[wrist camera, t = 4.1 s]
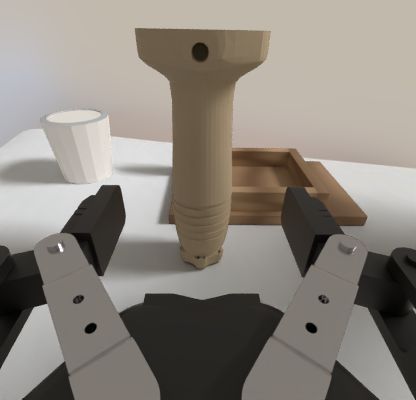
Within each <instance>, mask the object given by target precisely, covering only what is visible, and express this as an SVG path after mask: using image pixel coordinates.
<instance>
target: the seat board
mask: <svg viewBox="0 0 416 400" xmlns="http://www.w3.org/2000/svg"><path fill="white" fill-rule="evenodd" d="M287 187H304V188H305V189H306V190H307V192H308V194H309V195H310V197H315V198H317V199H318V200H320V201H321V202H322V203H324V205H325V206H326V208H327V209H328V211H329V212H330V214H331V215H332V217H333V218H334V220H335V221H336V222H337V224H338V225H364V224H365V222H366V220H367V215H366V214H365V213H364V212H363V211H362V210H361V209H360V207H359V206H358V205H357V204H356V203H355V202H354V201H353V199H352V198H351V197H350V196H349V195H348V194H347V193H346V191H345V190H344V189H343V188H342V187H341V186H340V184H339V183H338V182H337V181H336V180H335V179H334V178H333V176H332V175H331V174H330V173H329V172H328V171H327V170H326V168H325V167H324V166H323V165H322V164H321V163H320V162H314V161H304V159H303V158H302V157H301V155H300V154H299V153H298V152H297V150H296V149H278V148H277V149H276V148H232V197H231V210H230V218H229V224H255V225H282V224H281V212H282V207H283V202H284V197H285V192H286V189H287ZM169 222H170V224H175V218H174V210H173V197H172V202H171V207H170V212H169Z"/></svg>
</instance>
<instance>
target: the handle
mask: <svg viewBox="0 0 416 400" xmlns="http://www.w3.org/2000/svg"><path fill="white" fill-rule="evenodd" d="M135 34H136V42H137V50H138V55H139V58H140V59H141V60H142V61H143V62H145V63H146V64H147V65H148V66H150V67H152V68H153V69H155V70H157V71H158V72H160V73H161V74H163V75H164V76H165V77H166V78H167V79H168V80H169V81H170V89H171V95H172V121H173V169H172V193H173V195H172V196H173V210H174V218H175V224H176V230H177V234H178V238H179V241H180V244H181V245H182V246H181V247H180V252H181V256H182V258H183V260H184V261H185V262H189V263H192V264H194V265H195V266H196V267H197V268H205V267H206V266H208V265H210V264H212V263H218V262H219V261H220V259H221V257H222V253H223V249H222V245H223V243H224V240H225V237H226V233H227V229H228V224H229V218H230V210H231V197H232V115H233V112H232V111H233V97H234V90H235V83H236V82H237V80H238V79H239V78H240V77H241V76H243V75H245V74H246V73H248V72H250V71H251V70H253V69H255V68H257V67H258V66H259V65H261V64H262V63H263V62H264V61H265V60H266V58H267V54H268V47H269V40H270V31H248V30H199V29H196V30H195V29H146V28H135Z"/></svg>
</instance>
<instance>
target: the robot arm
mask: <svg viewBox="0 0 416 400" xmlns="http://www.w3.org/2000/svg"><path fill="white" fill-rule="evenodd" d="M125 218H126V214H125V208H124V203H123V197H122V192H121V188H120V186H119V185H102V186H101V188H100V189H99V191H98V192H97V194H96V195H91V196H89V197H88V198H86V199H85V200H83V201H82V202H81V204H80V205H79V207H78V209H77V210H76V211H75V212H74V214H73V215H72V217H71V218H70V219H69V221H68V222H67V224H66V225H65V226H64V228H63V229H62V231H61V232H60V233H59V234H54V235H51V236H49V237H46V238H45V239H43V240H41V241H40V242H39V243H38V244H37V245H36V247H35V249H34V250H32V251H28V252H23V253H18V254H13V255H11V253H10V251H9V249H8V248H7V247H5V246H1V245H0V368H1V367H2V365H3V363H4V361H5V359H6V357H7V356H8V354H9V352H10V350H11V348H12V346H13V345H14V343H15V341H16V339H17V337H18V335H19V334H20V332H21V330H22V328H23V326H24V324H25V323H26V321H27V319H28V317H29V315H30V313H31V312H32V310H33V308H34V307H37V306H40V305H44V304H48V307H49V310H50V313H51V317H52V320H53V323H54V327H55V330H56V333H57V336H58V340H59V343H60V346H61V350H62V353H63V356H64V359H65V361H64V362H63V363H62V364H61V365H60V366H59V367H58V368H56V369H55V370H54V371H53V372H52V373H51V374H50V375H49V376H48V377H46V378H45V379H44V380H43V381H42V382H41V383H40V384H39V385H38V386H36V387H35V388H34V389H33V390H32V391H31V392H30V393H29V394H28V395H26V396H25V397H24V398H23V399H22V400H379V399H378V398H377V397H376V396H375V395H374V394H373V393H371V392H370V391H369V390H368V389H367V388H366V387H365V386H364V385H363V384H362V383H361V382H360V381H358V380H357V379H356V378H355V377H354V376H353V375H352V374H351V373H350V372H349V371H348V370H347V369H345V368H344V367H343V366H342V365H341V364H340V363H339V362H338V361H337V360H336V357H337V354H338V351H339V348H340V345H341V342H342V338H343V335H344V332H345V329H346V326H347V323H348V320H349V316H350V313H351V310H352V307H353V304H356V305H360V306H364V307H367V308H368V310H369V311H370V313H371V315H372V317H373V319H374V321H375V323H376V325H377V327H378V329H379V331H380V333H381V335H382V337H383V339H384V340H385V342H386V344H387V346H388V348H389V350H390V352H391V354H392V356H393V358H394V360H395V362H396V364H397V366H398V367H399V369H400V371H401V373H402V375H403V377H404V379H405V381H406V383H407V385H408V387H409V389H410V391H411V393H412V395H413V396H414V398H415V400H416V314H415V312H414V311H413V309H412V308H413V307H414V308H415V309H416V250H414V249H410V248H396V249H394V250H393V251H392V253H391V255H390V256H386V255H381V254H377V253H372V252H368V251H367V248H366V247H365V245H364V244H363V243H362V242H360V241H359V240H357V239H356V238H353V237H351V236H348V235H345V234H344V233H343V231H342V230H341V228H340V227H339V225H338V224H337V222H336V221H335V220H334V218H333V217H332V215H331V214H330V212H329V211H328V209H327V208H326V206H325V205H324V203H322V202H321V201H320V200H318V199H317V198H315V197H310V195H309V194H308V192H307V190H306V189H305V188H304V187H287V189H286V192H285V197H284V202H283V207H282V212H281V224H282V227H283V230H284V232H285V235H286V237H287V240H288V242H289V245H290V248H291V250H292V253H293V255H294V258H295V260H296V263H297V265H298V268H299V270H300V273H301V275H302V277H305V278H304V279H303V281H302V283H301V285H300V287H299V288H298V290H297V292H296V294H295V296H294V297H293V299H292V301H291V303H290V305H289V306H288V308H287V310H286V312H285V313H283V312H282V311H280V310H278V309H276V308H274V307H272V306H269V305H267V304H263V303H260V298H259V294H227V295H223V296H219V297H214V298H210V299H206V300H199V299H194V298H190V297H186V296H181V295H177V294H145V298H144V303H141V304H137V305H134V306H132V307H130V308H127V309H125V310H124V311H122V312H120V313H119V314H118V312H117V310H116V308H115V306H114V305H113V303H112V301H111V299H110V297H109V295H108V294H107V292H106V290H105V288H104V286H103V284H102V282H101V281H100V279H99V277H98V276H103V275H104V273H105V271H106V268H107V266H108V263H109V261H110V258H111V256H112V254H113V251H114V249H115V246H116V244H117V241H118V239H119V236H120V234H121V232H122V229H123V227H124V224H125Z"/></svg>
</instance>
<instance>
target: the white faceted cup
mask: <svg viewBox="0 0 416 400" xmlns="http://www.w3.org/2000/svg"><path fill="white" fill-rule="evenodd" d="M40 123H41V125H42V128H43V130H44V132H45V135H46V137H47V139H48V141H49V144H50V146H51V148H52V151H53V153H54V155H55V157H56V160H57V162H58V164H59V167H60V169H61V171H62V174H63V176H64V178H65V180H67V181H68V182H69V183H74V184H89V183H95V182H99V181H101V180H104V179H106V178H108V177H109V176H110V175H112V173H113V171H114V170H113V159H112V148H111V137H110V127H109V116H108V114H107V112H105V111H102V110H96V109H73V110H65V111H59V112H55V113H51V114H48V115H45V116H44V117H42V118H40Z"/></svg>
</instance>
